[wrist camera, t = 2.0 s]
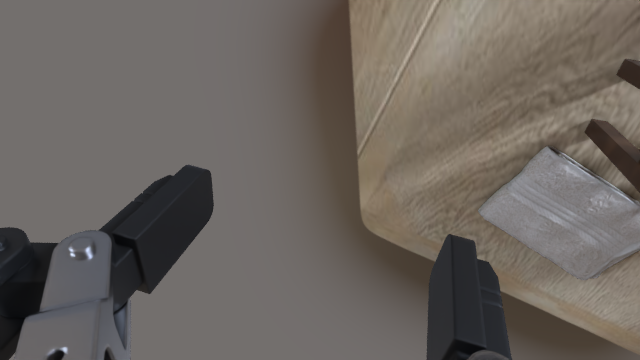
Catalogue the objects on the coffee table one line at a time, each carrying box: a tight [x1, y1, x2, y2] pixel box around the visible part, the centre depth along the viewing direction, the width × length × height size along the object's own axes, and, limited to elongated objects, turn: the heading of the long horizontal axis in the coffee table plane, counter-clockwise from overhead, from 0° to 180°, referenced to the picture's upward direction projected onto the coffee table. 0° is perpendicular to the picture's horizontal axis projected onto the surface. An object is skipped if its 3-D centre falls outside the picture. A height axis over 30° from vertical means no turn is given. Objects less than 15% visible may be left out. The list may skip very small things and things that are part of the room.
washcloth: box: [478, 146, 640, 280], centre depth 44 cm, size 12×18×3 cm, turn 62°
